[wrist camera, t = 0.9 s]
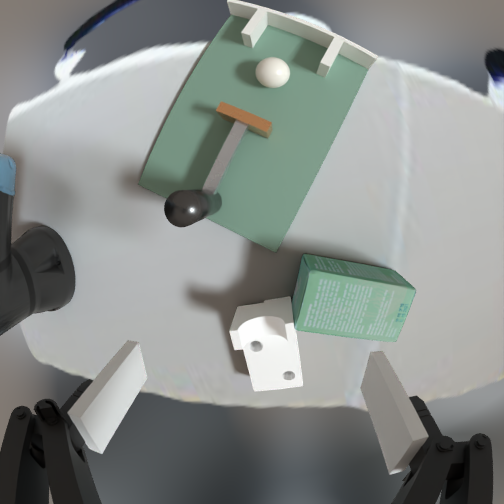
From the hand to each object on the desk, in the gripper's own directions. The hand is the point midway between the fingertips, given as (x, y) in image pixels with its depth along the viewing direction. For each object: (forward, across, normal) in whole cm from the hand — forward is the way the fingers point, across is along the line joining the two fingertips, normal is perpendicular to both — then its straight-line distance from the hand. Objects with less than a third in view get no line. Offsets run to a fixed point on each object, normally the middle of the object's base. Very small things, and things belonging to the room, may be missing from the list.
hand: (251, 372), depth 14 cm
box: (+22, +11, -3) cm, 24 cm away
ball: (+19, +1, +24) cm, 30 cm away
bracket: (+22, +1, -12) cm, 25 cm away
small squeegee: (+21, -5, +12) cm, 24 cm away
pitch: (+22, -2, +18) cm, 28 cm away
